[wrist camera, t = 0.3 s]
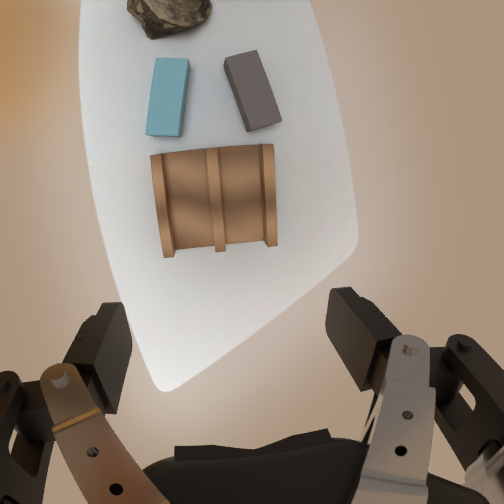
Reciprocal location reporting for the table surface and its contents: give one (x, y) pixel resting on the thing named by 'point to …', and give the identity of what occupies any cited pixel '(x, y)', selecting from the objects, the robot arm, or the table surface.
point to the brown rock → (168, 14)
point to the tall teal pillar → (168, 97)
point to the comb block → (215, 197)
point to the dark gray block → (252, 90)
